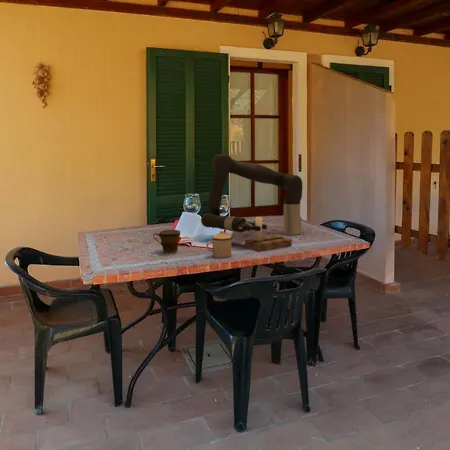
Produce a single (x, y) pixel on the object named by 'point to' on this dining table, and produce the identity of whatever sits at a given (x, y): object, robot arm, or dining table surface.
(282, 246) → the wooden tray
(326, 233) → the dining table surface
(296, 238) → the dining table surface
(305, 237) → the dining table surface
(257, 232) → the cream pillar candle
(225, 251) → the teacup with lid
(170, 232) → the ceramic cup
